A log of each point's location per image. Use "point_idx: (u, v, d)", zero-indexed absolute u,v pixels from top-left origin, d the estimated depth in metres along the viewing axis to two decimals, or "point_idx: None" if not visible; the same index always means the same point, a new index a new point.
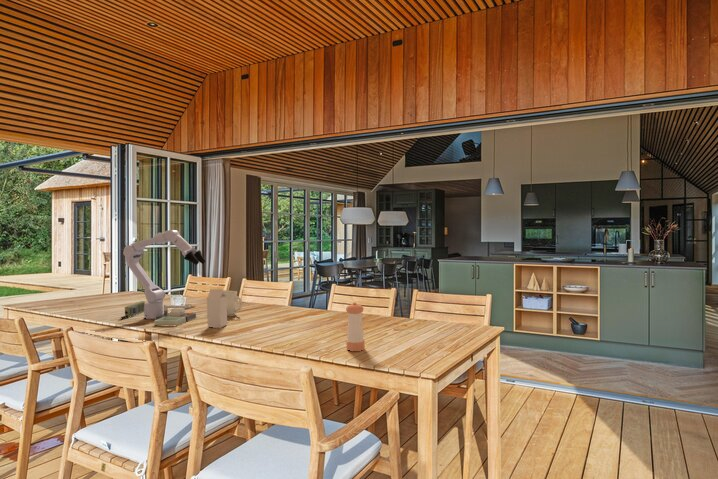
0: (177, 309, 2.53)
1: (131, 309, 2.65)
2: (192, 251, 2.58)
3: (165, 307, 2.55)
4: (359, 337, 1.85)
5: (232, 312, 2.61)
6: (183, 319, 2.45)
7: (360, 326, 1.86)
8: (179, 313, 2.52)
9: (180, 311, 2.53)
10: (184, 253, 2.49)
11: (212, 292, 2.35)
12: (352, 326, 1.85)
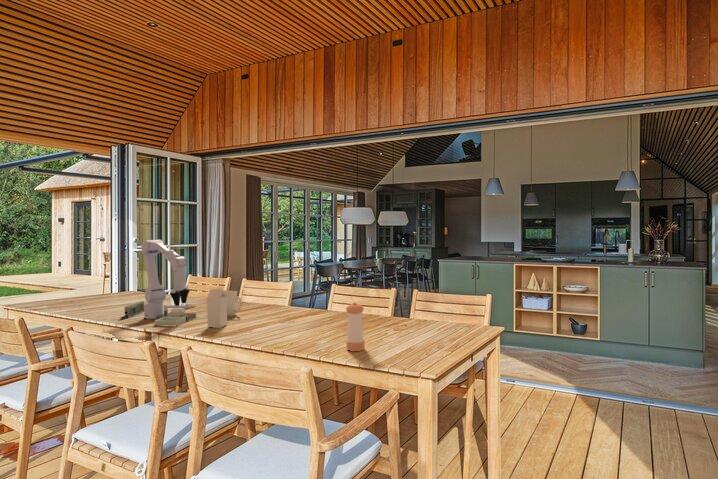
0: (177, 309, 2.53)
1: (131, 309, 2.65)
2: None
3: (165, 307, 2.55)
4: (359, 337, 1.85)
5: (232, 312, 2.61)
6: (183, 319, 2.45)
7: (360, 326, 1.86)
8: (179, 313, 2.52)
9: (180, 311, 2.53)
10: (173, 291, 2.41)
11: (212, 292, 2.35)
12: (352, 326, 1.85)
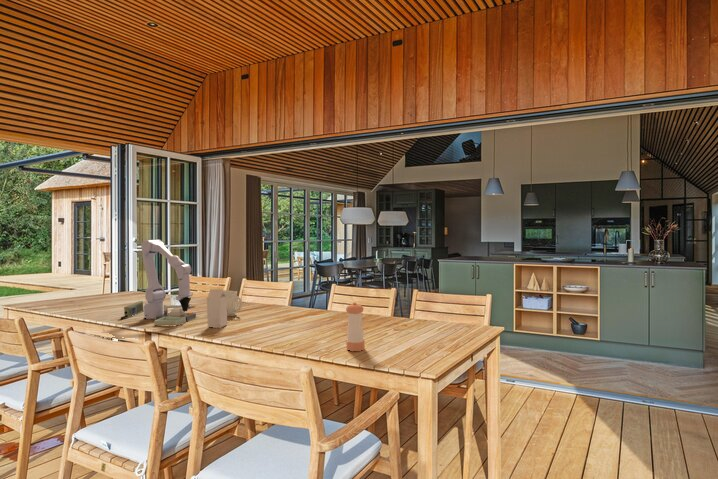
0: (177, 309, 2.53)
1: (130, 309, 2.65)
2: None
3: (165, 307, 2.55)
4: (359, 337, 1.85)
5: (232, 312, 2.61)
6: (183, 319, 2.45)
7: (360, 326, 1.86)
8: (179, 313, 2.52)
9: (180, 311, 2.53)
10: (178, 298, 2.46)
11: (212, 292, 2.35)
12: (352, 326, 1.85)
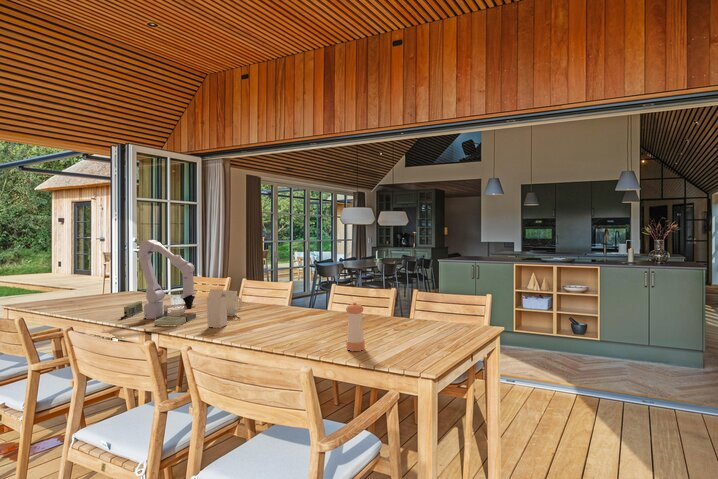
0: (177, 309, 2.53)
1: (130, 309, 2.65)
2: None
3: (166, 307, 2.55)
4: (359, 337, 1.85)
5: (232, 312, 2.61)
6: (183, 319, 2.45)
7: (360, 326, 1.86)
8: (179, 313, 2.52)
9: (180, 311, 2.53)
10: (182, 296, 2.52)
11: (212, 292, 2.35)
12: (352, 326, 1.85)
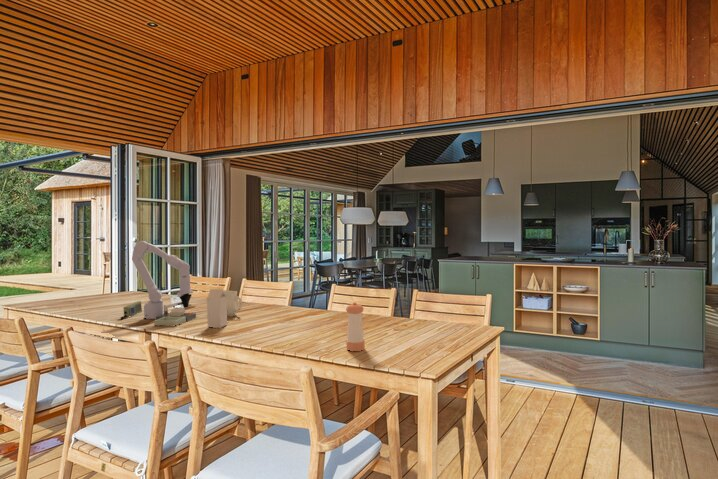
0: (177, 309, 2.53)
1: (130, 309, 2.65)
2: None
3: (167, 307, 2.56)
4: (359, 337, 1.85)
5: (232, 312, 2.61)
6: (183, 319, 2.45)
7: (360, 326, 1.86)
8: (179, 313, 2.52)
9: (180, 311, 2.53)
10: (179, 295, 2.58)
11: (212, 292, 2.35)
12: (352, 326, 1.85)
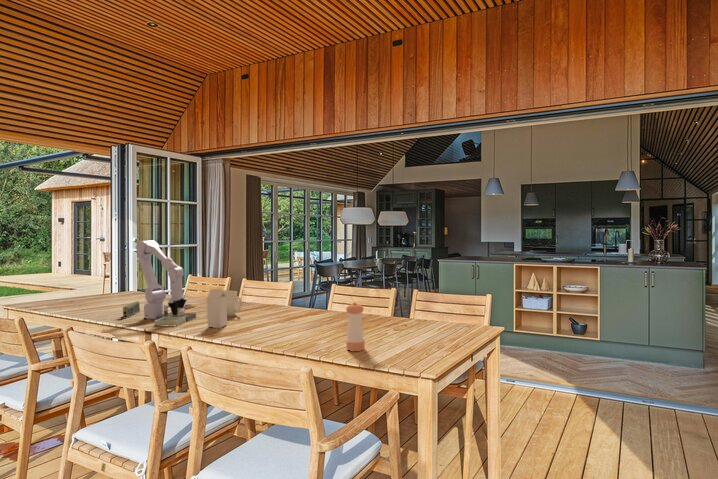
0: (177, 309, 2.53)
1: (129, 309, 2.65)
2: None
3: (167, 307, 2.56)
4: (359, 337, 1.85)
5: (232, 312, 2.61)
6: (183, 319, 2.45)
7: (360, 326, 1.86)
8: (179, 313, 2.52)
9: (180, 311, 2.53)
10: (170, 301, 2.48)
11: (212, 292, 2.35)
12: (352, 326, 1.85)
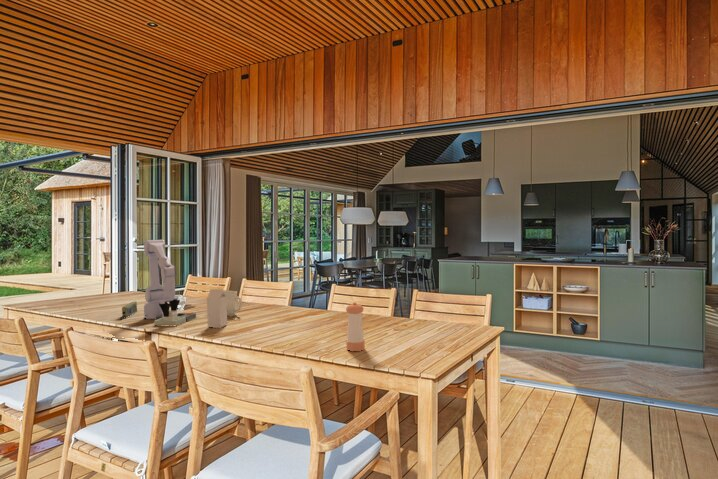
0: (170, 312, 2.41)
1: (128, 309, 2.64)
2: None
3: None
4: (359, 337, 1.85)
5: (232, 312, 2.61)
6: (183, 319, 2.45)
7: (360, 326, 1.86)
8: (172, 316, 2.40)
9: (173, 314, 2.41)
10: (162, 302, 2.36)
11: (212, 292, 2.35)
12: (352, 326, 1.85)
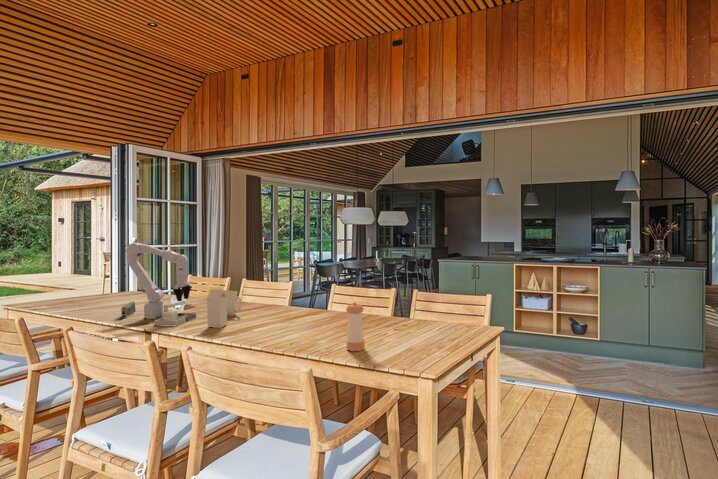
0: (170, 312, 2.41)
1: (127, 309, 2.64)
2: None
3: (167, 307, 2.56)
4: (359, 337, 1.85)
5: (232, 312, 2.61)
6: (183, 319, 2.45)
7: (360, 326, 1.86)
8: (172, 316, 2.40)
9: (173, 314, 2.41)
10: (176, 287, 2.55)
11: (212, 292, 2.35)
12: (352, 326, 1.85)
